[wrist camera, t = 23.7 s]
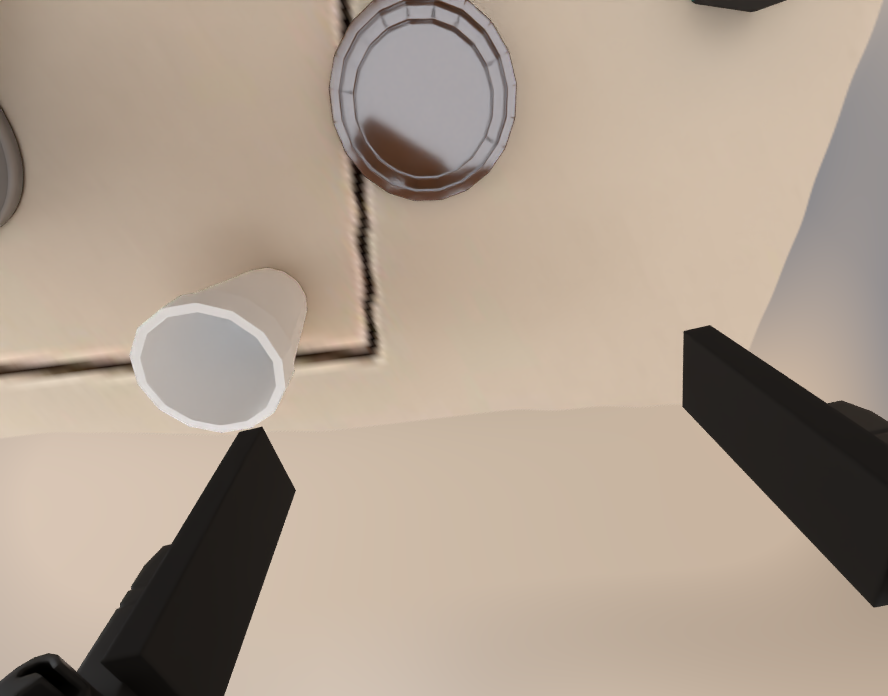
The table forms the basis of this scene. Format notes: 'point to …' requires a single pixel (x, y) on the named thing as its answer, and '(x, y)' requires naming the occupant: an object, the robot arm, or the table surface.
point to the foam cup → (222, 351)
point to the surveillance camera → (739, 4)
